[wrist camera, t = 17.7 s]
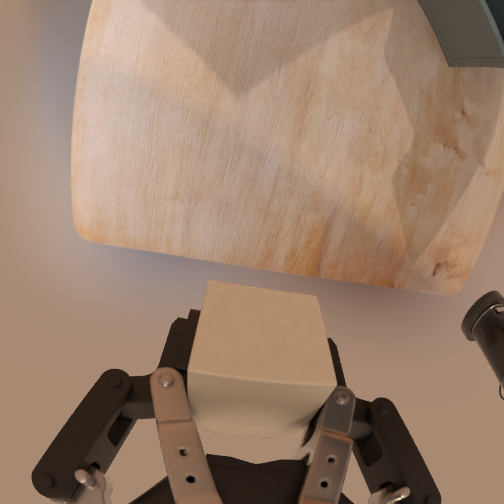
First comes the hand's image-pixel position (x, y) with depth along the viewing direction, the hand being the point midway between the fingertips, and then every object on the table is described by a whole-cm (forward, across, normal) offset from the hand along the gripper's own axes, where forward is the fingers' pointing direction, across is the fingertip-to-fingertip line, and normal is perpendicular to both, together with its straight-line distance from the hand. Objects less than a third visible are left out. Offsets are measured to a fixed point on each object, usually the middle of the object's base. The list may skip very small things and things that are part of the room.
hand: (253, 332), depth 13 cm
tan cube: (0, 0, 0) cm, 0 cm away
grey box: (+19, -20, -31) cm, 42 cm away
